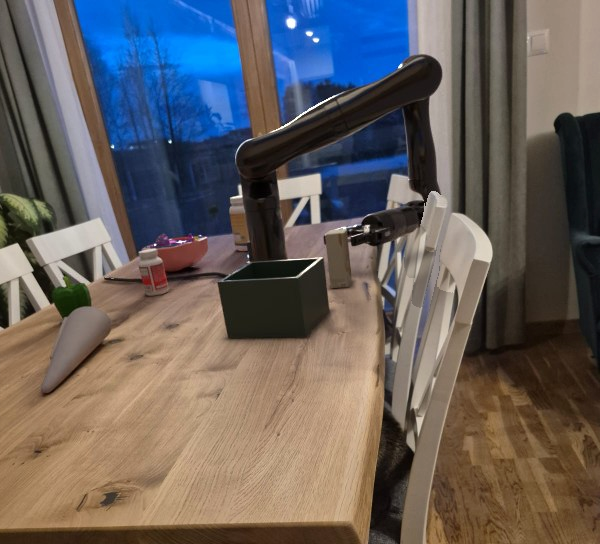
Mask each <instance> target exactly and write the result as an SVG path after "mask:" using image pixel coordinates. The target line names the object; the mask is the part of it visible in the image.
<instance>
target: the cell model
mask: <svg viewBox="0 0 600 544" xmlns="http://www.w3.org/2000/svg"><path fill="white" fill-rule="evenodd" d="M147 249H157V252H158V255H157V257H159V258H161V259H162V261H163V266H164V270H165V272H167V273H173V272H175V273H176V272H179V271H181V270H183V269H186V268H190V267H194V266H195V265H198V264H199V263H200V262H201V261H202V260H203V259H204V258H205V256H206V255H207V253H208V250H209V242H208V237H207V236H203V235H201V234H199V235H196V236H193V235H192V233H188V236H183V237H175V238H169V237H168V236H167V234H165V233H161V234H160V235H159V236H158V237H157V238H156V240H155V242H154V243H151V244H148V245H145V246H144V247H142V248H141V251H143V250H147Z"/></svg>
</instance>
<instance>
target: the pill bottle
mask: <svg viewBox="0 0 600 544" xmlns="http://www.w3.org/2000/svg"><path fill="white" fill-rule="evenodd" d="M157 255H158V252H157V249H147V250H140V251H138V257H139V259H140V260H139V261H138V265H137V266H138V270H139V273H140V279H142V282H141V283H142V286H143V290H144V294H145V295H146V296H148V297H154V296H160V295H163V294H166V293H168V292H169V291H170V287H169V283H168V280H167V278H166V277H167V275H166V271H165V270H164V266H163V261H162V259H161V258H159V257H157Z"/></svg>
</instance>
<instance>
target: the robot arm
mask: <svg viewBox="0 0 600 544" xmlns="http://www.w3.org/2000/svg"><path fill="white" fill-rule="evenodd" d="M442 80H443V68H442V65H441V63H440V62H439V60H438V59H436V58H435V57H434V56H432V55H429V54H427V53H424V54H423V53H419V54H413V55H409V56H408V57H406V58H405V59H404V60H403V61H402V62H401V63H400V64H399V66H398V68H397V69H395V70H394V71H391V72H390V73H388V74H387V75H385V76H384V77H381V78H380V79H377V80H375V81H373V82H370V83H367V84H363V85H359V86H356V87H353V88H350V89H348V90H346V91H342V92H341V93H338V94H336V95H333V96H332V97H329V98H328V99H326V100H324V101H322V102H319V103H318V104H316V105H315V106H313V107H311V108H309V109H308V110H307V111H304V112H303V113H302V114H300V115H299V116H297V117H296V118H295V119H293V120H292V121H290V122H289V123H287V124H285V125H284V126H281V127H280V128H278V129H276V130H273V131H270V132H268V133H265V134H263V135H261V136H257V137H254V138H249V139H247V140H245V141H243V142H242V143H241V144H240V145H239V147H238V148H237V151H236V153H235V159H234V160H235V167H236V169H237V171H238V175H239V182H240V187H241V195H242V198H243V206H244V212H245V218H246V224H247V230H248V237H249V242H247V250H248V251H247V258H248V261H247V262H245V264H244V265H242V266H240V267H238V268H237V269H236V270H238V269H240V268H241V267H243V266H245V265H246V264H248V263H250V262H257V261H273V260H289V258H288V257H289V256H288V249H287V243H286V236H285V235H286V234H285V228H284V219H283V214H282V207H281V199H280V197H281V196H280V191H279V190H280V189H279V184H278V183H279V182H278V176H277V170H278V169H280V168H282V167H283V166H284V165H287V164H288V163H290V162H291V161H293V160H295V159H297V158H299V157H302V156H304V155H307V154H311V153H313V152H316V151H318V150H321V149H324V148H326V147H329V146H331V145H333V144H335V143H337V142H340V141H342V140H344V139H346V138H348V137H350V136H352V135H354V134H356V133H357V132H359V131H361V130H362V129H364V128H366V127H368V126H370V125H371V124H373V123H375V122H376V121H377V120H379V119H381V118H382V117H385V116H386V115H387V114H389V113H392V112H394V111H396V110H400V109H401V111H402V117H403V121H404V130H405V141H406V158H407V159H406V160H407V175H408V187H409V190H410V191H411V192H412V193H413V192H414V193H416V194H419V195H420V196H421V198H422V199H416V200H415V199H414V200H410V201H407V202H406V203H404V204H403V205H401V206H398V207H395V208H388V209H384V210H381V211H377V212H373V213H370V214H367V215H366V216H364V217H363V219H362V221H361V222H360V223H357V224H355V225H351V226H350V225H345V226H342V227H338V228H335V229H334V228H333V230H340V229H347V235H348V243H350V245H351V247H358V246H361V245H363V244H364V245H365V244H366V245H368V246H370V247H378V246H381V245H384V244H388V243H390V242H393V241H396V240H398V239H400V238H402V237H405V236H408V235H411V234H412V233H414V232H415V231H416V230H417V229H420V224H421V220H422V217H423V212H424V203H425V206H426V202H427V198H428V195H429V193H430V192H431V191H436V192H438V193H439V194H440V195H442V193H441V188H440V185H439V182H438V168H437V167H438V166H437V165H438V164H437V152H436V146H435V141H434V137H433V131H432V126H431V125H432V124H431V118H430V98H431V97H432V96H433V95H434V94H435V93H436V92H437V91H438V89H439V88H440V85H441V83H442ZM423 200H424V201H423ZM325 235H326V234H324V235H323V244H324V245H325V246H326V239H325ZM230 274H231V273H223V272H219V271H209V272H200V273H192V274H182V275H173V276H172V275H171V276H166V278H167V281H174V280H185V279H195V278H203V277H222V278H225V277H226V276H228V275H230ZM105 277H106V276H104V277H103V280H104V281H111V282H123V283H143V282H142V278H126V277H125V278H123V277H111V276H108V277H109V278H105ZM111 278H114V279H111Z"/></svg>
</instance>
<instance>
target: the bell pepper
mask: <svg viewBox="0 0 600 544" xmlns="http://www.w3.org/2000/svg"><path fill="white" fill-rule="evenodd" d="M62 280H63V281H64V285H65V286H61V285H60V286H57V287H56V288H55V289H54V290H52V293H51V299H52V302H53V304H54V306H55V309H56V311H57V312H58V314H59V315H60V317H61V318H62V319H63V320H64V317H68V316H69V315H70V314H71V313H72V312H73V311H74V310H76V309H78V308H81V307H93V305H92V297H91V294H90V290H89V288H88V286H87V285H86V283H84V282H79V283H75V284H74V283H71V282H70V280H69V278H68V277H67V275H66V276H65V275H63V276H62Z"/></svg>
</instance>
